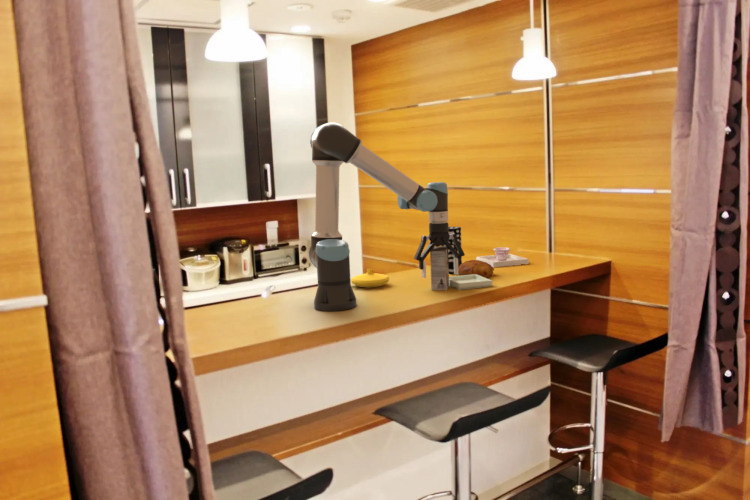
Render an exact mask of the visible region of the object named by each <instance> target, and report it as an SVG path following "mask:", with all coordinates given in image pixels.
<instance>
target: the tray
mask: <svg viewBox="0 0 750 500" xmlns="http://www.w3.org/2000/svg"><path fill="white" fill-rule="evenodd" d="M490 286H492V287H493V280H492V279H490V278H488V277H487V278H485V277H482V276H479V275H477V274H472V275H462V276H461V275H454V276H449V287H452V288H454V289H456V290H458V291H463V290H464V291H465V290H472V289H482V287H483V288H491V287H490Z"/></svg>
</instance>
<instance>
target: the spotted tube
mask: <svg viewBox="0 0 750 500" xmlns="http://www.w3.org/2000/svg"><path fill="white" fill-rule="evenodd" d="M448 227H449V232H448V233H449V234H452V233H455V234H456V235H457V240H458V242H459V244H460V246H461V247H462V227H461V226H448ZM448 242H449V243H450V244H451V246H452V247H453V248H454V249H455V250H456V251H457V252H458V250H457V249H456V247H455V245H454V243H453V241H452V239H451V238H449V239H448ZM444 246H445V245H444ZM458 254H459V252H458ZM462 257H463V256H462ZM462 257H461V258H460V265H461V264H462V263H463V261H462V260H463V259H462ZM454 258H456V257H455V256H454V254H453V253H452V252H451V251H450V250H449V249H448V259H449V275H455V274H454ZM458 268H459V266H458ZM458 275H460V274H459V273H458Z"/></svg>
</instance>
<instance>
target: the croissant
mask: <svg viewBox="0 0 750 500" xmlns="http://www.w3.org/2000/svg"><path fill="white" fill-rule="evenodd" d="M494 271H495V267H492V266H491V265H490V264H488V263H486V262H483V261H479V260H476V259H470V260H465V261H464V262H462V264H461V265H460V266H459V268H458V273H459V274H458V275H459V276H462V275H472V274H477V275H479V276H482V277H485V278H487V279H488V278H489V277H492V276H493V275H494Z"/></svg>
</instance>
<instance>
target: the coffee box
mask: <svg viewBox="0 0 750 500" xmlns="http://www.w3.org/2000/svg"><path fill="white" fill-rule="evenodd" d="M429 254H430V255H429V256H430V281H431V283H430V284H431V285H430V286H431V289H430V290H431V291H447V290H448V288H449V287H450V285H449V277H450V274H449V259H448V247H447V246H434V247H433V248H432V249H431V250H430V252H429Z"/></svg>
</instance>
